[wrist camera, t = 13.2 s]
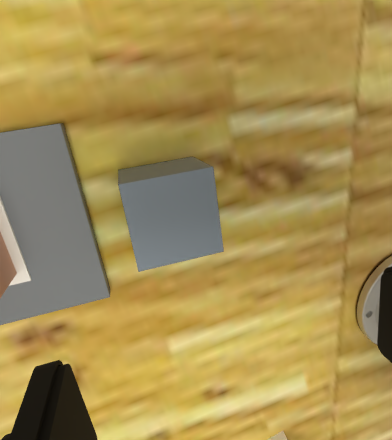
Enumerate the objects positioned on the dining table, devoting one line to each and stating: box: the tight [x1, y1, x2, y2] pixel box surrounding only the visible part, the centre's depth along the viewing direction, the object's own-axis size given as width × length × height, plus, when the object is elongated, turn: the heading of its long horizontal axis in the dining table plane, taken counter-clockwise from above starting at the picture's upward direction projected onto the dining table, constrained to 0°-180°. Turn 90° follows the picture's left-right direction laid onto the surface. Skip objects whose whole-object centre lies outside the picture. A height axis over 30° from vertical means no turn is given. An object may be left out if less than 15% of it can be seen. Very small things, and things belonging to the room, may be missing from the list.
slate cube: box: [118, 157, 224, 272], centre depth 23 cm, size 6×6×6 cm
